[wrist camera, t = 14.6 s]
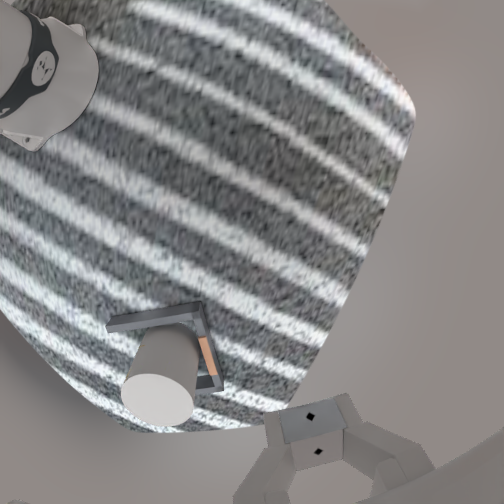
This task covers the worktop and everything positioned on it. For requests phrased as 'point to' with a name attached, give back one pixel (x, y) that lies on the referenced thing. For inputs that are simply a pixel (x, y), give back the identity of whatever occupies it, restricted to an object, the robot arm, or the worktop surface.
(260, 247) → the worktop surface
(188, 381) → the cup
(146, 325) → the bracket
